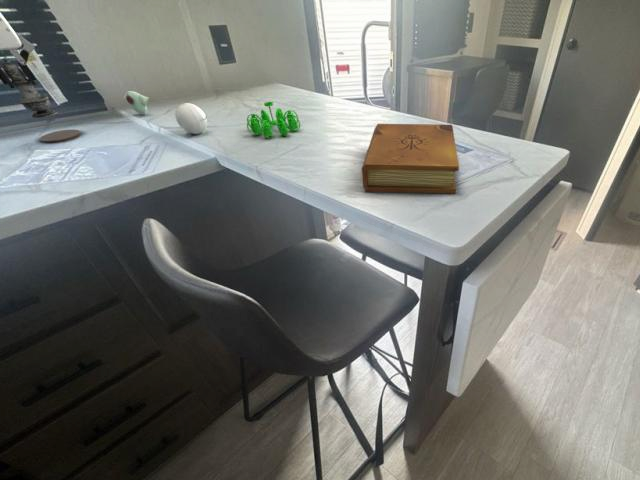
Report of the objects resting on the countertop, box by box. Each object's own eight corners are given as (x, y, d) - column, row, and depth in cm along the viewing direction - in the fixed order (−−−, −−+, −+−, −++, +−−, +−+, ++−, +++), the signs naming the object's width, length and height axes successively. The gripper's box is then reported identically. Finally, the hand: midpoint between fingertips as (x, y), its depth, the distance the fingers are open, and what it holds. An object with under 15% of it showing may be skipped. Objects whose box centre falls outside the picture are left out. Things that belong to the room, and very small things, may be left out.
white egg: (203, 138, 86) (190, 107, 80) (178, 137, 86) (163, 107, 81) (221, 126, 93) (210, 97, 87) (198, 125, 93) (185, 96, 88)
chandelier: (262, 144, 82) (252, 115, 77) (239, 130, 90) (230, 102, 85) (312, 131, 89) (306, 103, 84) (287, 119, 97) (281, 92, 92)
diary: (376, 148, 80) (374, 123, 76) (449, 149, 79) (452, 124, 75) (363, 191, 64) (361, 163, 60) (455, 193, 63) (459, 165, 59)
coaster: (34, 144, 83) (32, 142, 83) (51, 133, 89) (49, 130, 89) (72, 141, 85) (70, 139, 84) (87, 130, 91) (85, 128, 90)
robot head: (158, 114, 101) (146, 89, 96) (149, 117, 98) (136, 92, 93) (136, 112, 102) (123, 88, 97) (127, 116, 99) (113, 91, 94)
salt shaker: (25, 117, 81) (-20, 59, 73) (47, 110, 85) (7, 55, 77) (42, 118, 80) (-1, 60, 72) (64, 111, 84) (25, 56, 76)
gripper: (-2, -20, 71) (62, 78, 84) (-111, -18, 63) (-22, 89, 76) (0, -20, 67) (66, 82, 80) (-117, -18, 59) (-21, 95, 72)
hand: (23, 84), depth 78 cm, fingers closed on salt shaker, 3 cm apart
